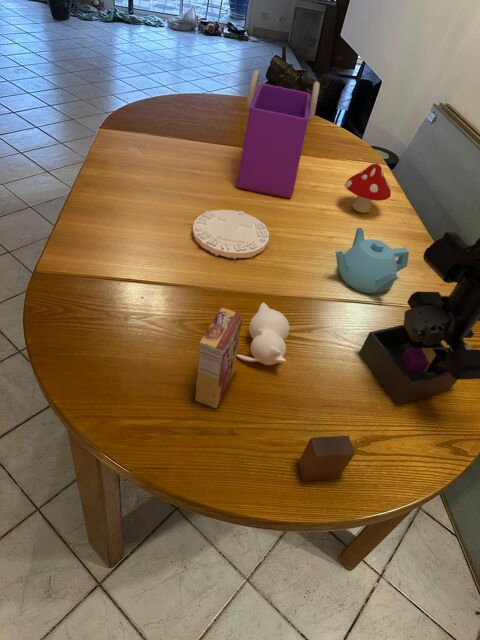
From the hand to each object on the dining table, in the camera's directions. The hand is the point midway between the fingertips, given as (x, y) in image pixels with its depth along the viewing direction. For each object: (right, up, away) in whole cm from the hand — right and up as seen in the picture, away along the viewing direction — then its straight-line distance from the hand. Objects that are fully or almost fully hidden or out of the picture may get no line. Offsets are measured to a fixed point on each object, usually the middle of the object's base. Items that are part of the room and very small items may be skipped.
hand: (424, 363), depth 78 cm
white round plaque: (-37, +30, +31) cm, 57 cm away
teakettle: (-4, +18, +27) cm, 33 cm away
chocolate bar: (0, 0, 0) cm, 0 cm away
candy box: (-39, -4, -3) cm, 40 cm away
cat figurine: (-31, +2, +5) cm, 31 cm away
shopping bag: (-26, +55, +60) cm, 85 cm away
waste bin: (-2, -2, +6) cm, 7 cm away
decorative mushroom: (+2, +42, +52) cm, 67 cm away
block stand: (-22, -16, -12) cm, 30 cm away
